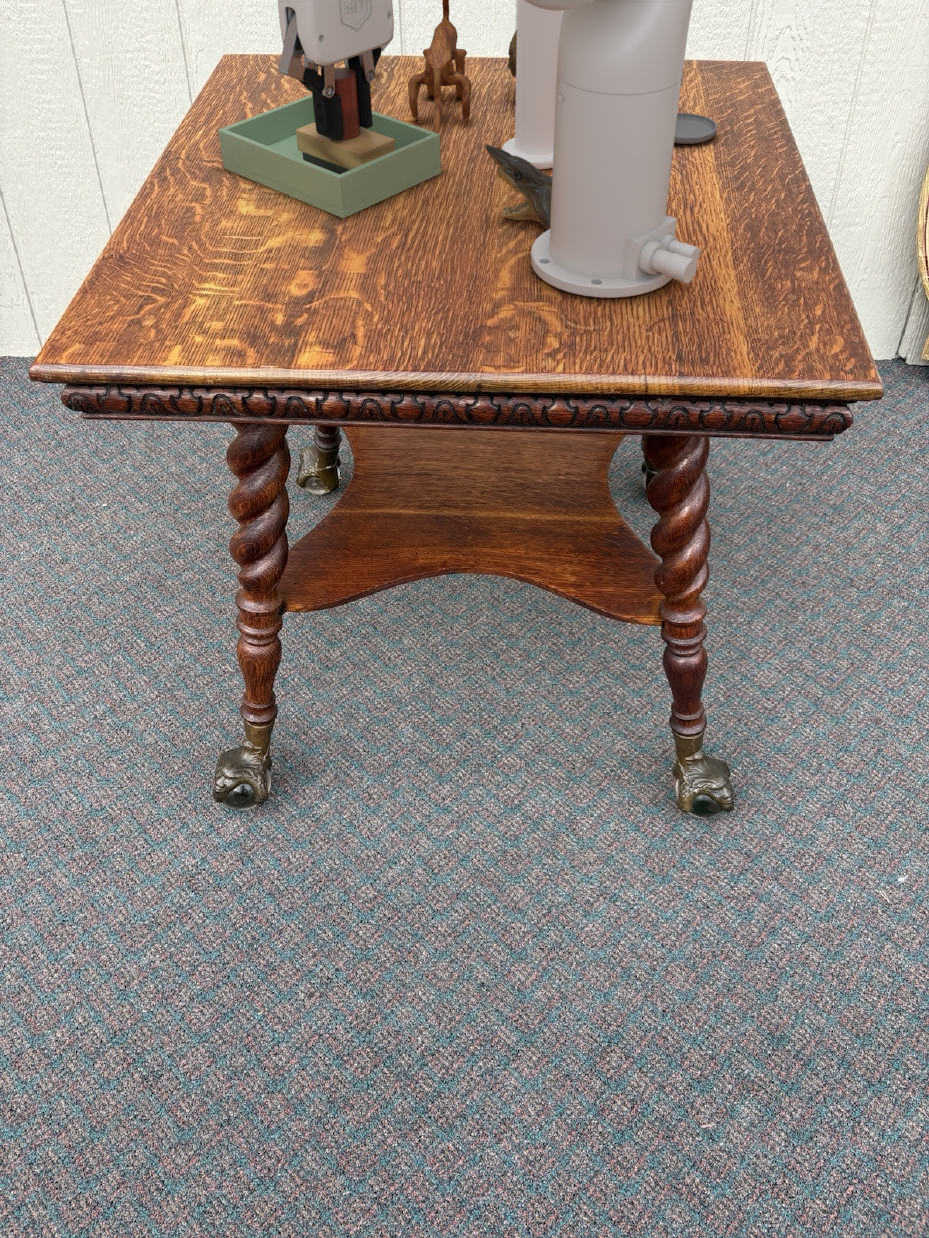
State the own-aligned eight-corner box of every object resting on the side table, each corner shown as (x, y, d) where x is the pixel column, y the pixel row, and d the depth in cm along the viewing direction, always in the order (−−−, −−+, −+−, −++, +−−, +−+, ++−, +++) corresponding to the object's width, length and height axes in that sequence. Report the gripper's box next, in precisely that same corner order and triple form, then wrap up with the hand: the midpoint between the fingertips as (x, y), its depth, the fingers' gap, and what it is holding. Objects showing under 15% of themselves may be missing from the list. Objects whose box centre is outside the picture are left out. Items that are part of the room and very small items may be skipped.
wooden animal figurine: (466, 152, 115) (465, 4, 105) (401, 151, 115) (394, 3, 106) (478, 88, 128) (477, -50, 118) (419, 87, 128) (414, -50, 119)
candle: (561, 174, 111) (575, -127, 94) (492, 165, 113) (493, -132, 95) (580, 146, 116) (597, -145, 98) (513, 138, 117) (518, -150, 100)
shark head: (480, 235, 102) (480, 159, 97) (489, 204, 106) (490, 130, 102) (569, 240, 101) (573, 164, 96) (575, 209, 105) (579, 134, 101)
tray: (441, 173, 111) (440, 134, 109) (343, 219, 105) (339, 178, 102) (321, 129, 120) (318, 91, 117) (223, 168, 113) (217, 129, 110)
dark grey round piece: (714, 150, 115) (729, 43, 108) (630, 144, 116) (639, 39, 109) (717, 119, 120) (732, 16, 113) (638, 114, 122) (647, 12, 115)
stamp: (397, 172, 109) (391, 77, 103) (363, 187, 107) (355, 91, 101) (332, 148, 114) (324, 56, 108) (299, 162, 111) (288, 69, 105)
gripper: (281, -66, 89) (307, 168, 102) (425, -105, 98) (432, 115, 110) (219, -81, 93) (252, 147, 105) (364, -118, 101) (378, 97, 114)
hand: (344, 128), depth 108 cm, fingers closed on stamp, 3 cm apart
